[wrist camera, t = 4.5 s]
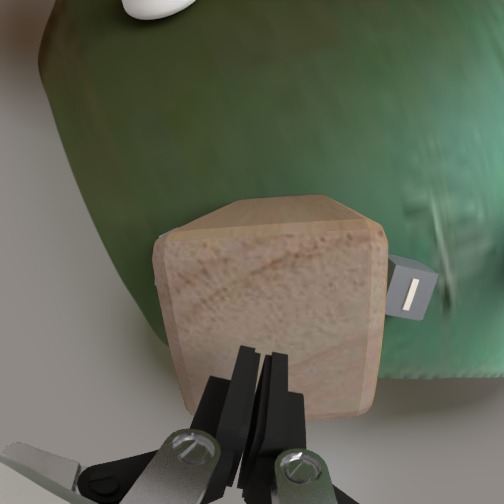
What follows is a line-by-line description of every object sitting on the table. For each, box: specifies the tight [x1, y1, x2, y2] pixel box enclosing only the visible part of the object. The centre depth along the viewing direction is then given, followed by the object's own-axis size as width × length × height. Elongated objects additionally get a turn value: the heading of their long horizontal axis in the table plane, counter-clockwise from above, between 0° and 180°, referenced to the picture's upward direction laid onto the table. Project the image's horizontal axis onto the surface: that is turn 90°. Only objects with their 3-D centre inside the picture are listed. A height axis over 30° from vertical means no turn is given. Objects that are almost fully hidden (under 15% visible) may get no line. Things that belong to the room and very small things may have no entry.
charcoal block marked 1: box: [385, 254, 439, 321], centre depth 28 cm, size 5×5×5 cm
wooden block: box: [152, 194, 388, 421], centre depth 22 cm, size 10×10×20 cm
